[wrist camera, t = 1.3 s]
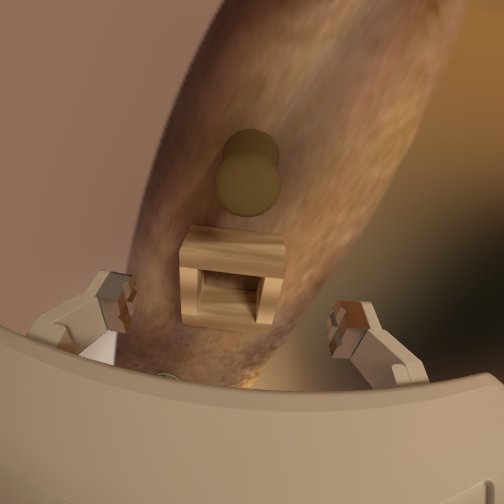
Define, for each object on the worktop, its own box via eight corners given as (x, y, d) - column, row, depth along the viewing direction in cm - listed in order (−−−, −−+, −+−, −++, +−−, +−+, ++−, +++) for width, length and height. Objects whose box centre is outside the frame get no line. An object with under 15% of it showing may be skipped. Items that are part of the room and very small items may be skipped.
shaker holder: (190, 224, 34) (179, 251, 29) (283, 235, 35) (287, 264, 30) (190, 293, 40) (182, 323, 35) (268, 303, 41) (269, 334, 36)
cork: (227, 185, 31) (213, 233, 22) (218, 133, 28) (196, 159, 19) (281, 178, 31) (291, 224, 22) (275, 125, 27) (283, 147, 18)
